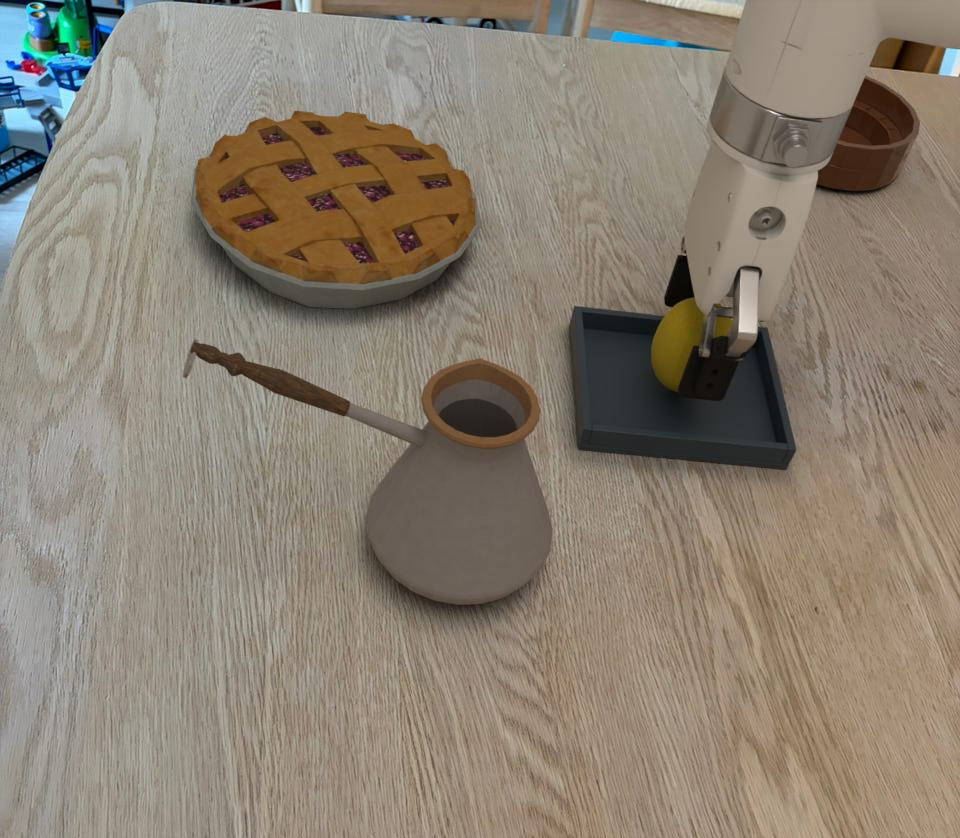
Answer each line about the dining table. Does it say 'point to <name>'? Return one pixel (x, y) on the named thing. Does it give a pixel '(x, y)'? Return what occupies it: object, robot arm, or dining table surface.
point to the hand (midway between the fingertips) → (691, 349)
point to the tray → (671, 399)
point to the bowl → (872, 140)
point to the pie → (335, 208)
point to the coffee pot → (445, 479)
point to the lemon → (680, 340)
